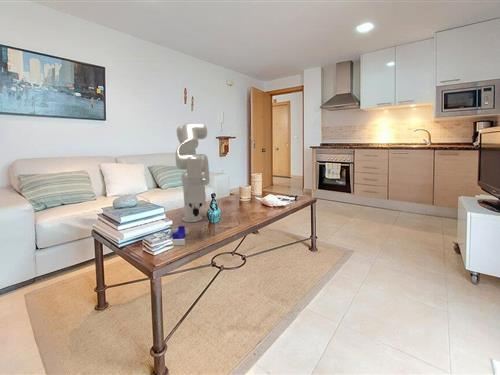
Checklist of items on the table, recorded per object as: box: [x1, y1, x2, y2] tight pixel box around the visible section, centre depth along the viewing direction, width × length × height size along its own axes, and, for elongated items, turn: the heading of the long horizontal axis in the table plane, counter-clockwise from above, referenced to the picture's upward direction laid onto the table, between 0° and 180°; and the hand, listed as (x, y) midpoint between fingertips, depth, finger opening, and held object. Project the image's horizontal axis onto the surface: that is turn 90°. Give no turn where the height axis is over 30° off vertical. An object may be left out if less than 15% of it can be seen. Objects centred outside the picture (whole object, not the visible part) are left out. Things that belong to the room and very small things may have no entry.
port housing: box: [167, 227, 190, 247], centre depth 137 cm, size 17×10×3 cm, turn 6°
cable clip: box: [171, 225, 186, 239], centre depth 136 cm, size 12×4×6 cm, turn 179°
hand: (196, 215), depth 137 cm, fingers closed
